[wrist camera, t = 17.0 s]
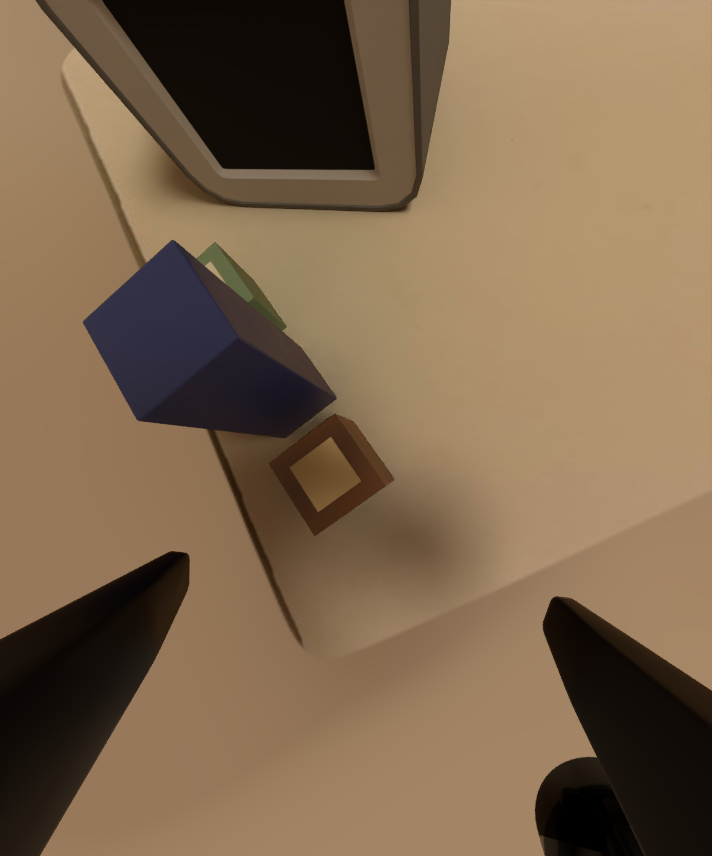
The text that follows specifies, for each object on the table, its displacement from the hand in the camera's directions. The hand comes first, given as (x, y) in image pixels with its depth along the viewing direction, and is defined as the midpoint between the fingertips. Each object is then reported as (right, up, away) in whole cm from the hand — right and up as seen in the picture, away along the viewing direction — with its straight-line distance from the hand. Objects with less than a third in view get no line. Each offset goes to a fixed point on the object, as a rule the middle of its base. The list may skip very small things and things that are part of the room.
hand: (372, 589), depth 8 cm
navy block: (-5, +6, +15) cm, 17 cm away
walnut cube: (-1, +1, +14) cm, 14 cm away
